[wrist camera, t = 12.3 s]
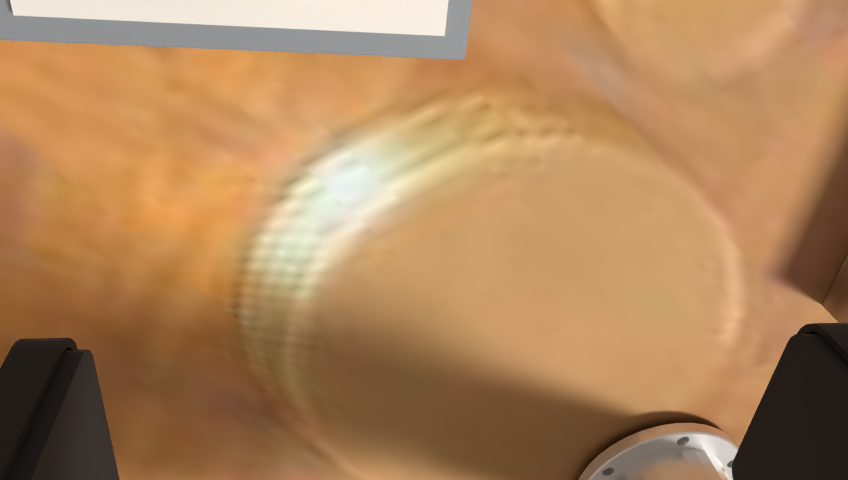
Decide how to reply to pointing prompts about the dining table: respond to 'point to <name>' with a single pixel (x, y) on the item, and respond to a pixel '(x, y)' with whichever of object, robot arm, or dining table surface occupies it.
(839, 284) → the brown wooden tray
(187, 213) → the dining table surface
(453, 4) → the plinth
